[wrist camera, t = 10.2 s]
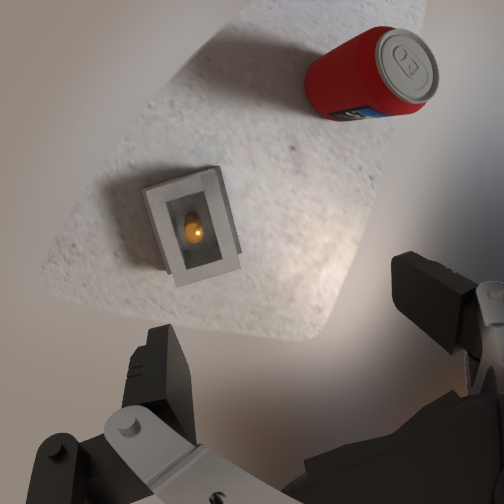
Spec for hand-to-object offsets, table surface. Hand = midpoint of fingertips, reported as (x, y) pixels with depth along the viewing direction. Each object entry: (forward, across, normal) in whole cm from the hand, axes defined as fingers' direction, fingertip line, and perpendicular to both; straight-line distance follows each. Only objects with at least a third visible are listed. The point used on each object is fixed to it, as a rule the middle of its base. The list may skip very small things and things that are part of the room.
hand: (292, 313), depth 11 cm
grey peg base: (+19, +3, 0) cm, 20 cm away
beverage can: (+20, -13, -9) cm, 25 cm away
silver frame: (+18, +3, 0) cm, 19 cm away
